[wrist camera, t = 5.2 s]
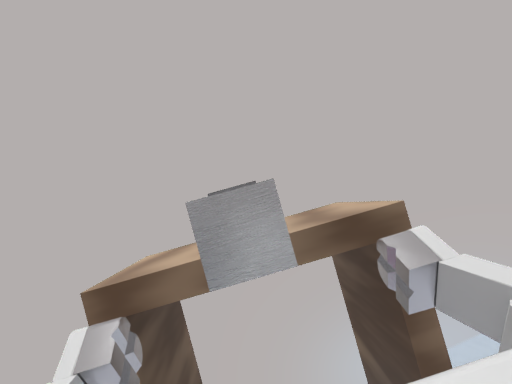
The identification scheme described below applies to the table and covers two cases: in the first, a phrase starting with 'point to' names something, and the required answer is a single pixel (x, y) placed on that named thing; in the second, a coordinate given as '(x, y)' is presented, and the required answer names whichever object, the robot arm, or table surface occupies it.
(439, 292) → the robot arm
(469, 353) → the table surface
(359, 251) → the wooden side table
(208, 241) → the bar
